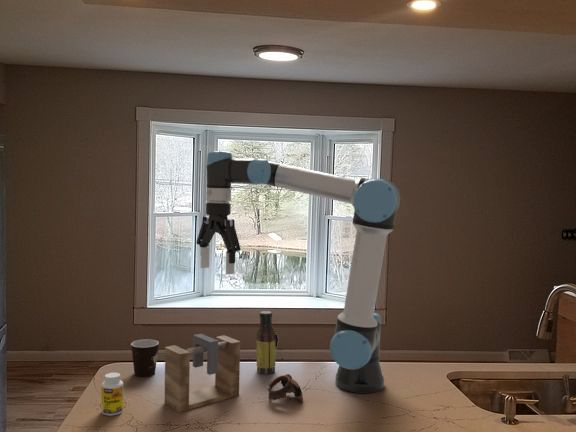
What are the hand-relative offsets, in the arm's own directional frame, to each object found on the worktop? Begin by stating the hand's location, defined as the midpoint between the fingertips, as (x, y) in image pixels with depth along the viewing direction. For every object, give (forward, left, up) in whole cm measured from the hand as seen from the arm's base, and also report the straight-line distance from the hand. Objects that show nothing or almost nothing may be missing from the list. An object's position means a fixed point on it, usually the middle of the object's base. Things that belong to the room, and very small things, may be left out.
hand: (217, 270), depth 174 cm
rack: (-11, +11, -35) cm, 38 cm away
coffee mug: (+18, +16, -35) cm, 42 cm away
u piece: (-11, +11, -26) cm, 30 cm away
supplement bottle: (-3, +35, -35) cm, 50 cm away
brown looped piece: (-25, -8, -35) cm, 44 cm away
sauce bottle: (-3, -18, -35) cm, 39 cm away
